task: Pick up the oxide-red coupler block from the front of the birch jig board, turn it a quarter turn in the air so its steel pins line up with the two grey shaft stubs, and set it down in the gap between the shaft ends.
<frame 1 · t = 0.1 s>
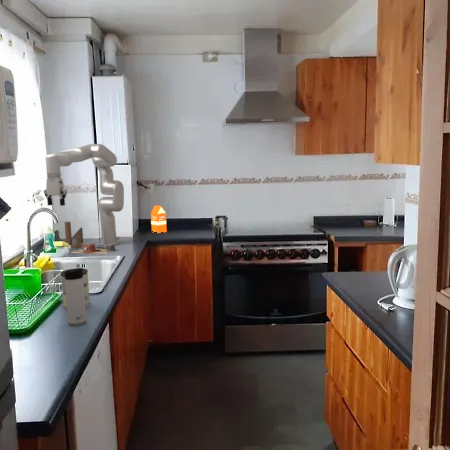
hand: (56, 205, 303), 31 cm above the counter, tool pointing down, fingers open, 9 cm apart
jig: (95, 252, 319), on the counter
orange juice: (159, 232, 394), on the counter
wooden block: (74, 250, 332), on the counter
travel mug: (77, 324, 185), on the counter
coupler: (89, 252, 315), point 1 cm above the counter, touching jig
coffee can: (76, 306, 207), on the counter
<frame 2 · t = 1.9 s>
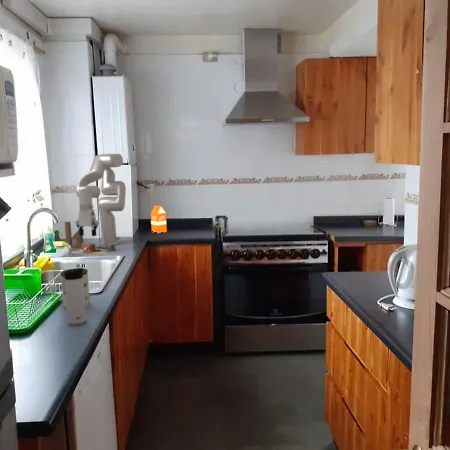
hand: (87, 235, 313), 11 cm above the counter, tool pointing down, fingers open, 9 cm apart
nothing on the counter moved.
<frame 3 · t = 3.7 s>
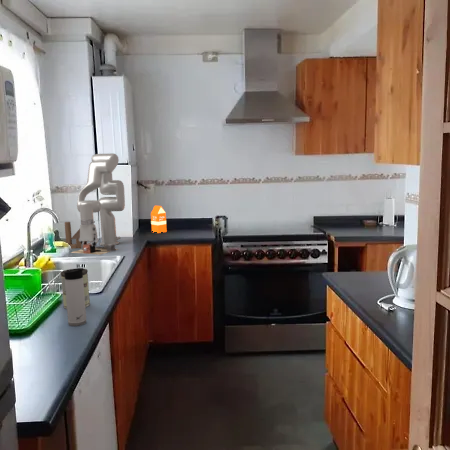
hand: (89, 251, 315), 1 cm above the counter, tool pointing down, fingers closed on jig, 5 cm apart
coupler: (89, 252, 315), point 1 cm above the counter, touching gripper, jig
everything else where it was.
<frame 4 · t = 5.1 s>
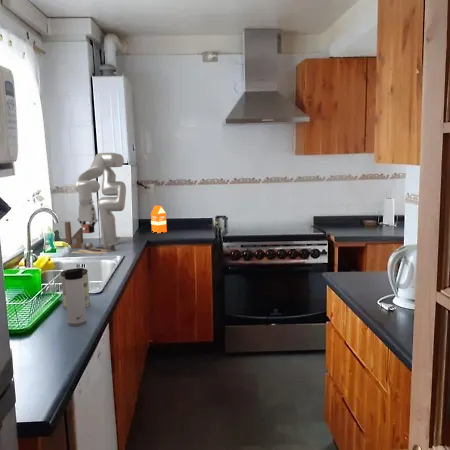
hand: (88, 232, 314), 13 cm above the counter, tool pointing down, fingers closed on coupler, 5 cm apart
coupler: (88, 232, 314), point 13 cm above the counter, touching gripper
everything else where it was.
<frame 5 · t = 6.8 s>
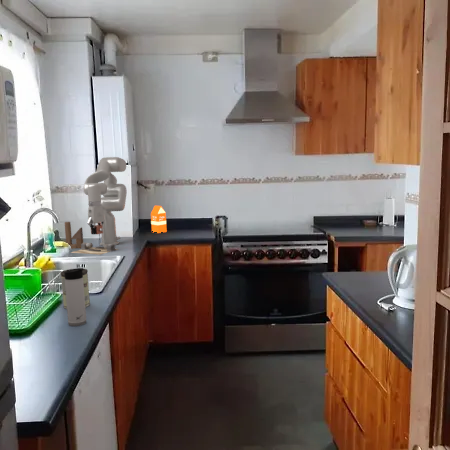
hand: (97, 233, 320), 12 cm above the counter, tool pointing down, fingers closed on coupler, 5 cm apart
coupler: (97, 233, 320), point 11 cm above the counter, touching gripper
everything else where it was.
when the fingers open (3 cm above the counter, at t = 9.0 s): coupler drops 1 cm, resting on jig.
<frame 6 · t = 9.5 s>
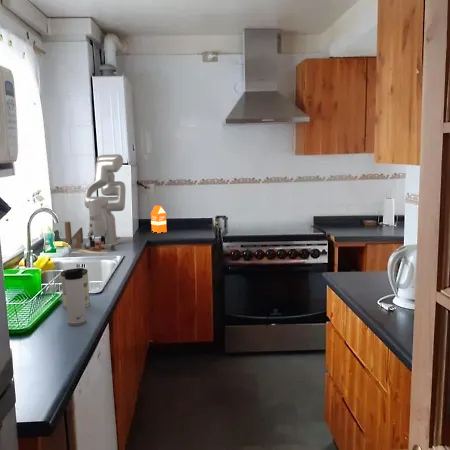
hand: (98, 245, 321), 4 cm above the counter, tool pointing down, fingers open, 9 cm apart
coupler: (98, 249, 322), point 1 cm above the counter, touching jig
everything else where it was.
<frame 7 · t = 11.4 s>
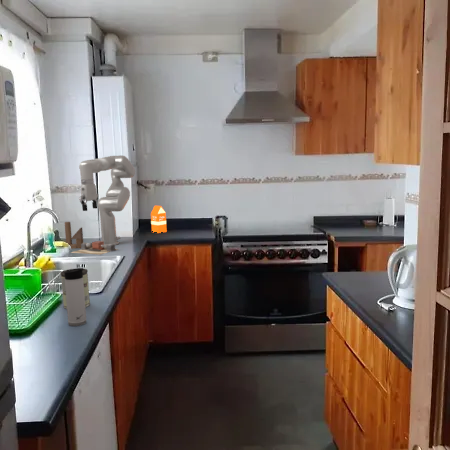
hand: (90, 209, 324), 26 cm above the counter, tool pointing down, fingers open, 9 cm apart
nothing on the counter moved.
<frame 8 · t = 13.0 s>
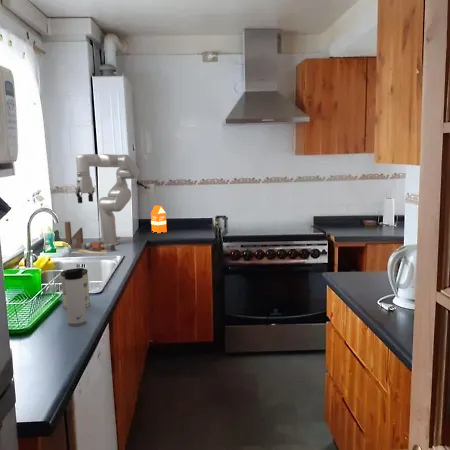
hand: (85, 202, 325), 30 cm above the counter, tool pointing down, fingers open, 9 cm apart
nothing on the counter moved.
at the end: coupler 0.1 cm from the target spot on the jig, point 1.2 cm above the jig's base; coupler tilted 0°; the gripper is holding nothing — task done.
